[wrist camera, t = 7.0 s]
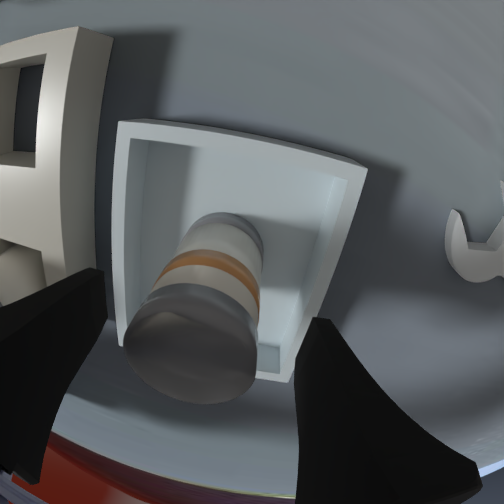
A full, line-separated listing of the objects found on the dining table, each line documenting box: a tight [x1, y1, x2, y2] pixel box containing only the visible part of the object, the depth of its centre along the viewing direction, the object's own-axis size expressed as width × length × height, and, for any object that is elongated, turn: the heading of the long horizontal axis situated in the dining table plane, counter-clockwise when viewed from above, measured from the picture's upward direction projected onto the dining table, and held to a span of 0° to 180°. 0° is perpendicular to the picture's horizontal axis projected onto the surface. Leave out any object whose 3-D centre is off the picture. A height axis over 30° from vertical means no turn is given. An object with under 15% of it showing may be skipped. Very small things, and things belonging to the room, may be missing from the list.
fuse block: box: [0, 26, 114, 287], centre depth 12 cm, size 16×8×3 cm, turn 169°
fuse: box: [0, 244, 47, 307], centre depth 12 cm, size 4×4×7 cm
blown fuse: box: [123, 212, 264, 404], centre depth 11 cm, size 4×4×7 cm
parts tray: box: [112, 118, 368, 383], centre depth 13 cm, size 11×9×2 cm
